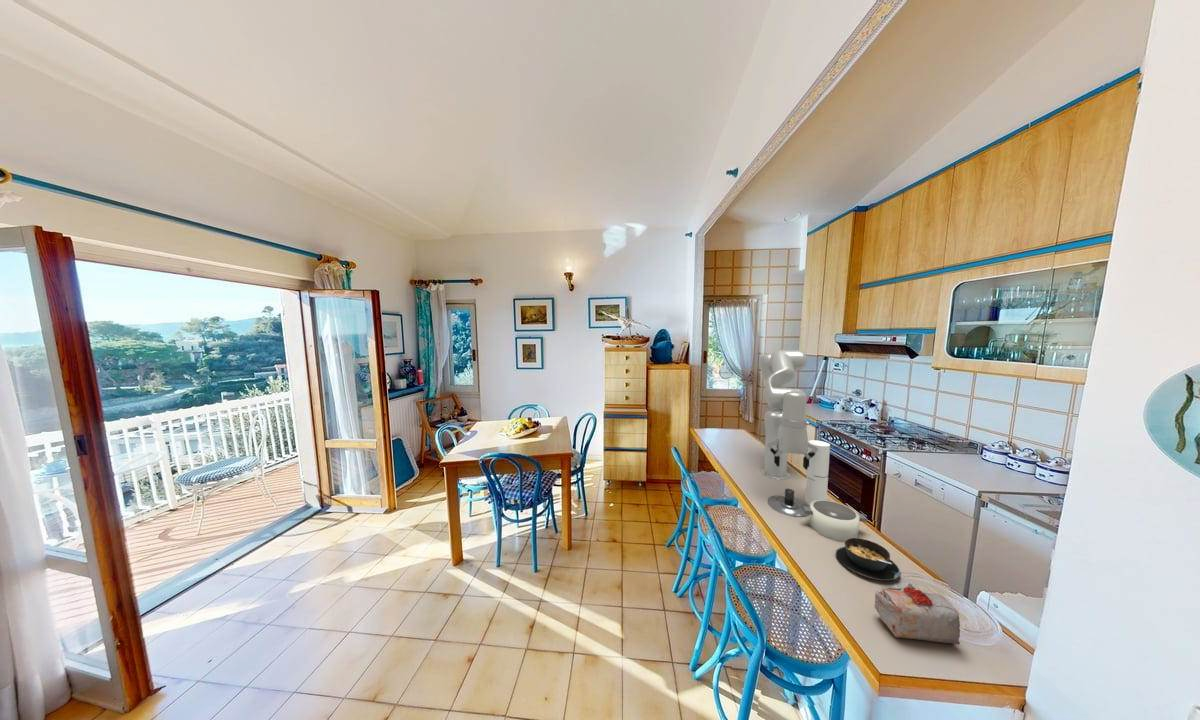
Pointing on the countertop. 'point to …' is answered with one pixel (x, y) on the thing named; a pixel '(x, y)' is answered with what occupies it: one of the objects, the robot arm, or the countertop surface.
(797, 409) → the robot arm
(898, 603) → the food item
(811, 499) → the cylindrical container
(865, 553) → the soup bowl
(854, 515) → the pot
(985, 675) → the countertop surface
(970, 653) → the countertop surface
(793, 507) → the lid
